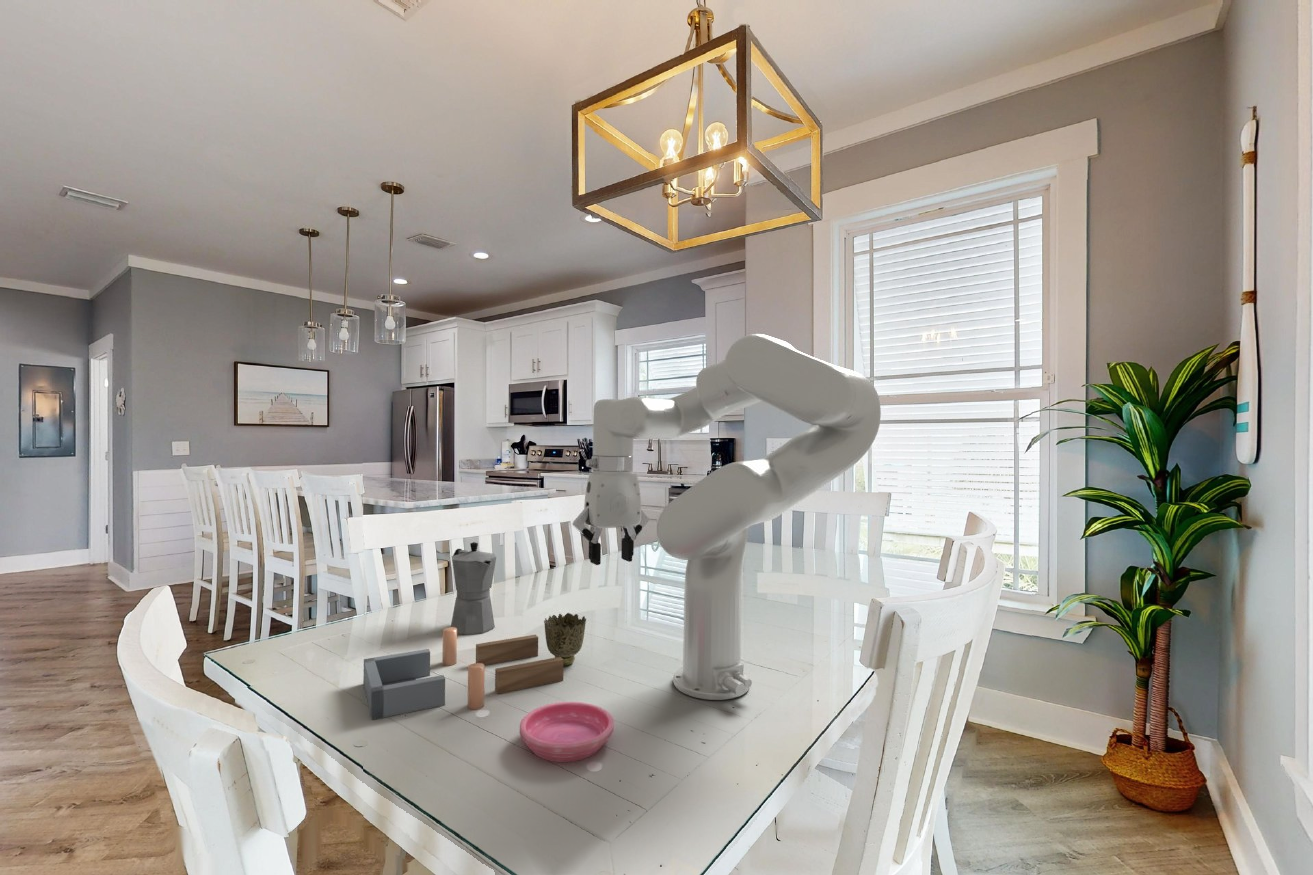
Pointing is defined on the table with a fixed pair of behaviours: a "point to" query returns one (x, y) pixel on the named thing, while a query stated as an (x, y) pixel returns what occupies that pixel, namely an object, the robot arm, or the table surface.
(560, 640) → the cup
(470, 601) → the coffeepot
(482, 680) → the goal posts
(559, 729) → the pink bowl
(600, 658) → the table surface
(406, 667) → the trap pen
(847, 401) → the robot arm
